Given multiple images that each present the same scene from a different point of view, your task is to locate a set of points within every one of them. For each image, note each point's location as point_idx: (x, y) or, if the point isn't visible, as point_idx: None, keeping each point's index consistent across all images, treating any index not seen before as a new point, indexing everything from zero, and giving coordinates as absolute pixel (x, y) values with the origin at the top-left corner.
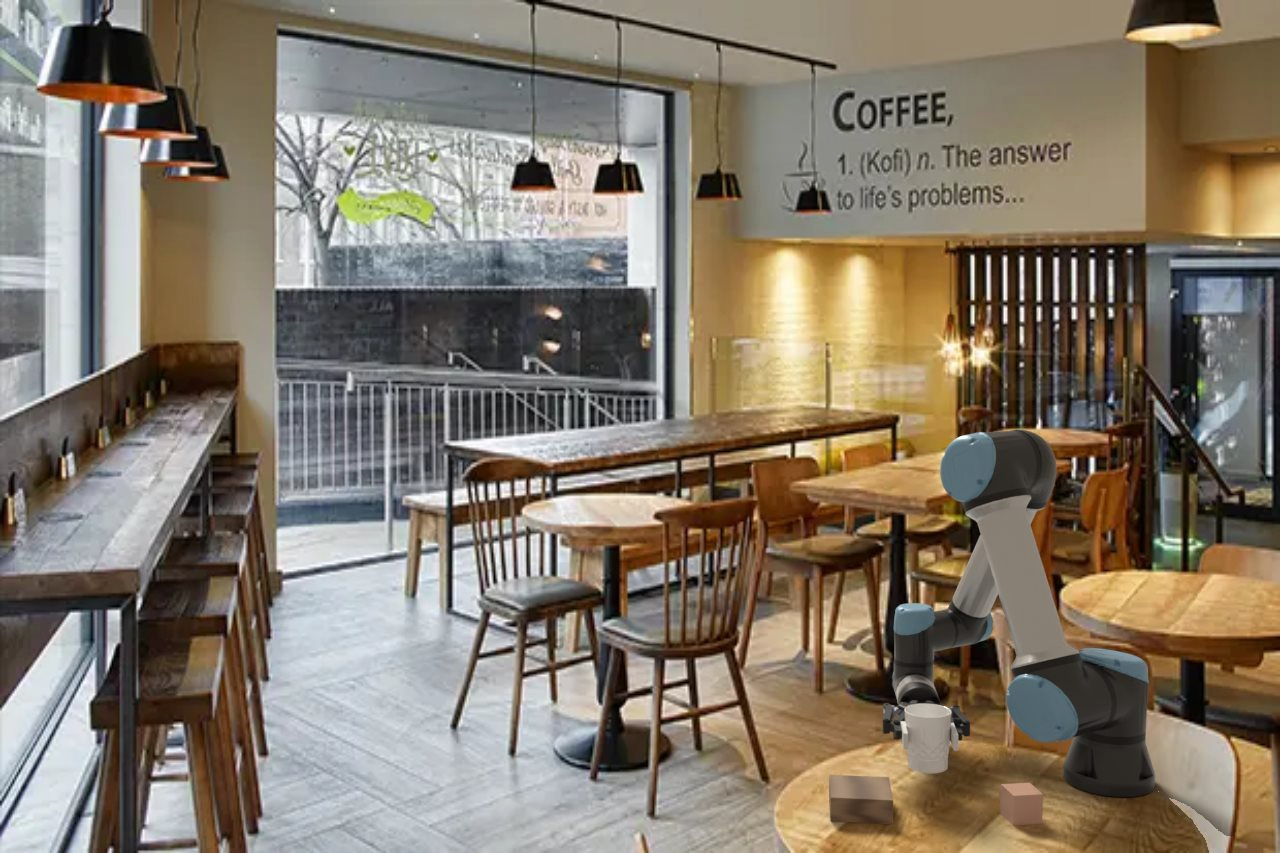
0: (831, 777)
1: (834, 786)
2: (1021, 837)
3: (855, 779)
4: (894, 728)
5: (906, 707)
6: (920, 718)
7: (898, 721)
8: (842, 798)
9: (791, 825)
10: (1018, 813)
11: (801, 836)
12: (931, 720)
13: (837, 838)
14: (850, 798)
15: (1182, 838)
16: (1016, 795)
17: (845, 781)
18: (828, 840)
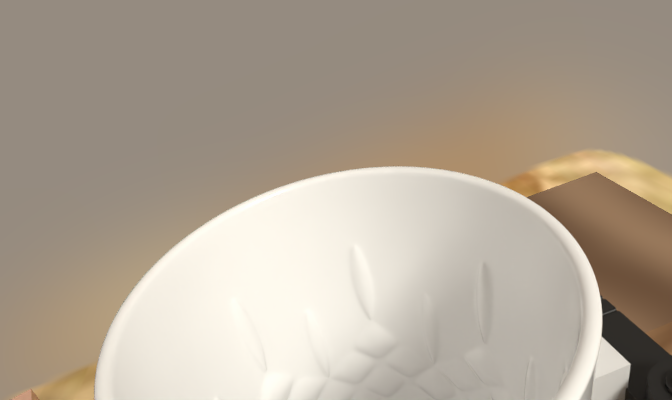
0: None
1: (655, 218)
2: (85, 388)
3: (646, 289)
4: (611, 307)
5: (573, 257)
6: (358, 178)
7: (658, 374)
8: (565, 184)
9: (655, 181)
10: None
11: (589, 164)
12: (284, 203)
13: (516, 190)
14: (544, 191)
15: None
16: (18, 397)
17: (661, 259)
18: (527, 178)
